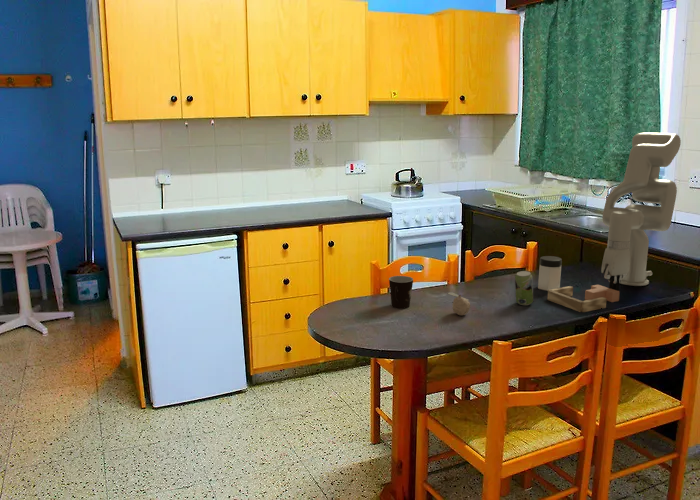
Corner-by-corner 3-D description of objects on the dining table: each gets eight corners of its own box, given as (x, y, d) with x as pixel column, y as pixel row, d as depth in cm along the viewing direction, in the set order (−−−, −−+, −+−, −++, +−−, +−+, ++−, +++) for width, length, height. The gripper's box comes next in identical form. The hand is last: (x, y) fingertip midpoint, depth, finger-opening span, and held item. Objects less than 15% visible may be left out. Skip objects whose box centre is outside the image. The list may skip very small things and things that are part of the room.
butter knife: (451, 291, 247) (445, 292, 245) (495, 308, 227) (489, 310, 225) (451, 293, 247) (445, 294, 245) (495, 310, 227) (489, 311, 225)
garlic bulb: (447, 313, 221) (448, 291, 220) (460, 310, 225) (461, 288, 223) (461, 318, 216) (462, 296, 214) (474, 315, 220) (475, 292, 218)
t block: (597, 293, 245) (597, 284, 244) (618, 300, 236) (619, 291, 235) (578, 297, 240) (578, 288, 239) (599, 304, 232) (600, 295, 231)
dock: (569, 294, 243) (569, 286, 242) (605, 307, 228) (606, 298, 227) (545, 299, 238) (546, 290, 237) (581, 312, 223) (582, 302, 222)
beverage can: (536, 303, 233) (538, 271, 230) (526, 308, 227) (528, 275, 225) (520, 300, 237) (522, 268, 234) (510, 304, 231) (512, 272, 229)
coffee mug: (399, 300, 236) (399, 274, 233) (417, 306, 230) (418, 279, 227) (377, 307, 228) (378, 280, 225) (396, 313, 222) (396, 285, 219)
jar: (564, 288, 251) (567, 258, 248) (552, 292, 246) (555, 262, 243) (545, 283, 258) (547, 254, 255) (532, 287, 253) (534, 257, 250)
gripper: (623, 241, 244) (619, 287, 248) (595, 244, 237) (591, 292, 241) (640, 244, 237) (635, 292, 241) (612, 248, 230) (607, 297, 235)
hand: (613, 292), depth 241 cm, fingers closed
